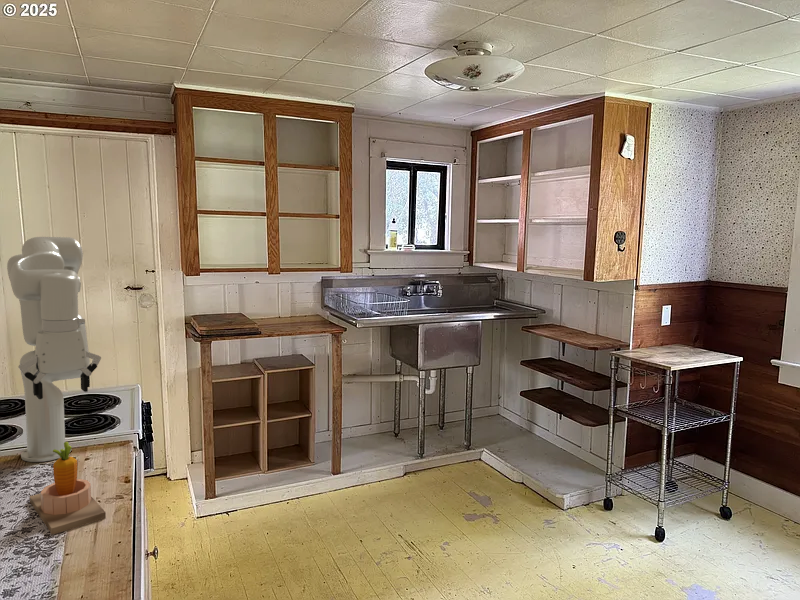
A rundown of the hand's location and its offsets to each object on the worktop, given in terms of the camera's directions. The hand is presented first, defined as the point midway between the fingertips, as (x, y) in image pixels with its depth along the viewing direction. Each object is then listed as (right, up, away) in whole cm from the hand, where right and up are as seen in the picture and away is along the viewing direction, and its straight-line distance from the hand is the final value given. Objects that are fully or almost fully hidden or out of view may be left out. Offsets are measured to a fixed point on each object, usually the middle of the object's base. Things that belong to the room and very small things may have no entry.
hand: (62, 394), depth 135 cm
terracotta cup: (+2, -26, -2) cm, 26 cm away
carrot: (+2, -26, -2) cm, 26 cm away
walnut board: (+2, -28, -2) cm, 28 cm away
